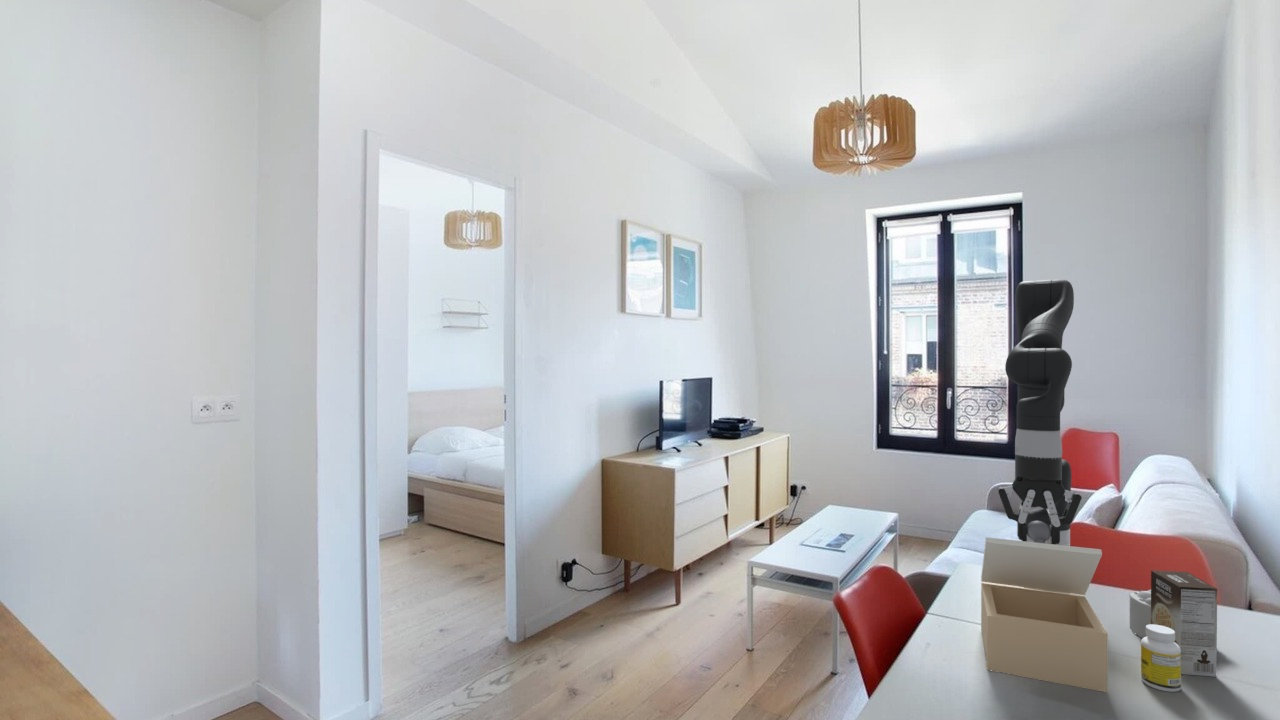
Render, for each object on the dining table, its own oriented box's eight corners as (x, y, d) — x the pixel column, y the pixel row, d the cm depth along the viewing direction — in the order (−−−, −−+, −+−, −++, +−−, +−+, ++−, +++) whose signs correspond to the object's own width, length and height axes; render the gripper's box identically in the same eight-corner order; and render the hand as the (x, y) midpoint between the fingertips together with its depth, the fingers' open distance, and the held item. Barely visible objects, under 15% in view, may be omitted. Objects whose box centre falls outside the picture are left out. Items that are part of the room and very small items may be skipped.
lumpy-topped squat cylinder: (1186, 655, 122) (1186, 610, 122) (1115, 628, 134) (1115, 587, 134) (1220, 647, 125) (1221, 603, 125) (1148, 621, 137) (1148, 581, 137)
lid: (981, 581, 133) (980, 552, 137) (1084, 595, 125) (1080, 563, 129) (986, 542, 120) (984, 510, 123) (1102, 554, 112) (1096, 520, 116)
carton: (981, 629, 133) (981, 582, 133) (1084, 646, 126) (1084, 595, 125) (987, 670, 116) (987, 615, 116) (1107, 692, 108) (1107, 633, 108)
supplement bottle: (1141, 673, 115) (1141, 619, 115) (1180, 683, 111) (1180, 627, 111) (1140, 685, 110) (1140, 629, 110) (1181, 696, 107) (1181, 638, 107)
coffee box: (1148, 651, 123) (1148, 568, 123) (1186, 654, 122) (1186, 571, 122) (1178, 674, 114) (1178, 585, 114) (1219, 678, 113) (1219, 588, 113)
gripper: (1079, 453, 121) (1079, 543, 121) (993, 448, 127) (993, 534, 127) (1087, 458, 114) (1087, 554, 114) (996, 453, 120) (996, 544, 120)
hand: (1038, 543), depth 120 cm, fingers closed on lid, 4 cm apart
